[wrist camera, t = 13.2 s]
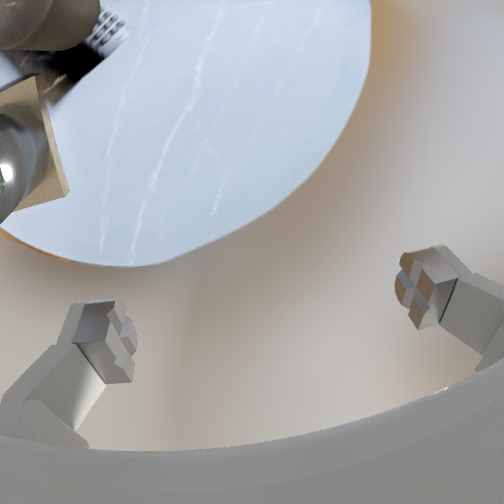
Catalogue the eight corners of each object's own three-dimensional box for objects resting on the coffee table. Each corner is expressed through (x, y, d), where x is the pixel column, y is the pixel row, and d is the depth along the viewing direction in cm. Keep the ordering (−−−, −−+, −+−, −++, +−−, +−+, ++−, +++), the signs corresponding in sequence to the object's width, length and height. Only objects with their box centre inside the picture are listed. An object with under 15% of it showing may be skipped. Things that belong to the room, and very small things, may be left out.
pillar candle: (100, 41, 28) (47, 32, 16) (36, 58, 27) (-31, 65, 15) (102, -23, 23) (56, -57, 11) (38, -3, 22) (-25, -18, 9)
